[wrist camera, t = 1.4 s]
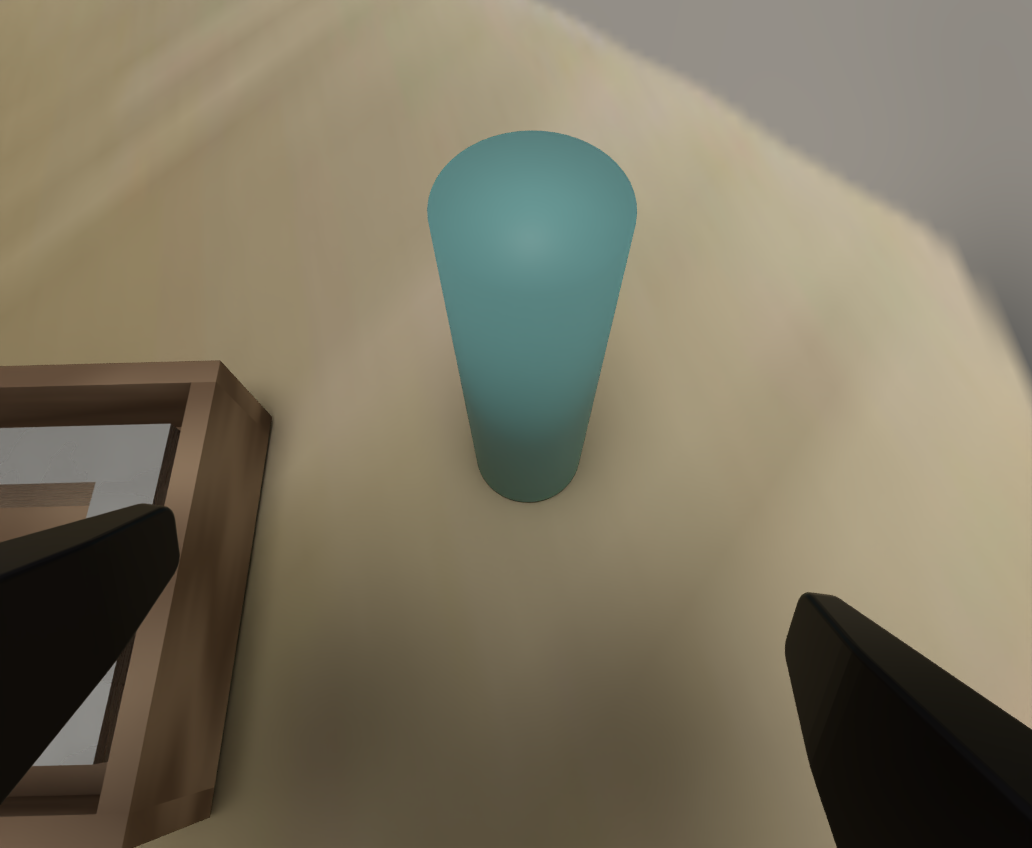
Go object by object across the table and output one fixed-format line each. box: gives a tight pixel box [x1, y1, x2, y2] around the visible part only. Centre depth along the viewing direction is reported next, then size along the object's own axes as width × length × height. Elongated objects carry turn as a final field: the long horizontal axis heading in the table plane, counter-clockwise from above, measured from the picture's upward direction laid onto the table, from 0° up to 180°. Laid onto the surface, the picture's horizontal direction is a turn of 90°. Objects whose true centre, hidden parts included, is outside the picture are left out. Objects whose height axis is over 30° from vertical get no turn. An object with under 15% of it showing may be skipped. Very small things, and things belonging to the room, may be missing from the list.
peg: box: [427, 131, 637, 502], centre depth 17 cm, size 4×4×13 cm
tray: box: [0, 360, 272, 848], centre depth 19 cm, size 14×14×4 cm
